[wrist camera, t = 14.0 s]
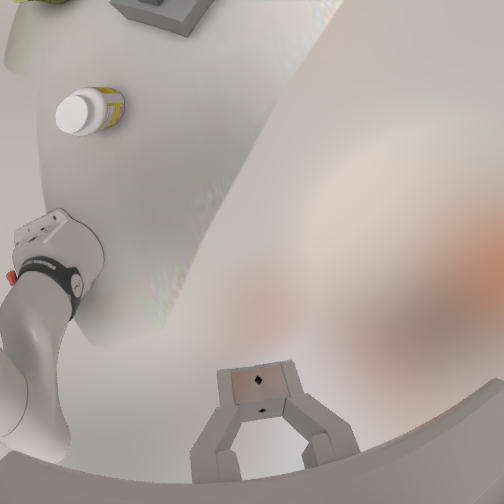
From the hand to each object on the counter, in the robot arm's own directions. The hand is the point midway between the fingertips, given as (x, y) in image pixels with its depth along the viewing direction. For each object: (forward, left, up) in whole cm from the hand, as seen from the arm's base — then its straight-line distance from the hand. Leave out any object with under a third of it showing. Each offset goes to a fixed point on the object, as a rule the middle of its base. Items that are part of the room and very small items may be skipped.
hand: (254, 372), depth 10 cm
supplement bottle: (-17, +11, -37) cm, 42 cm away
